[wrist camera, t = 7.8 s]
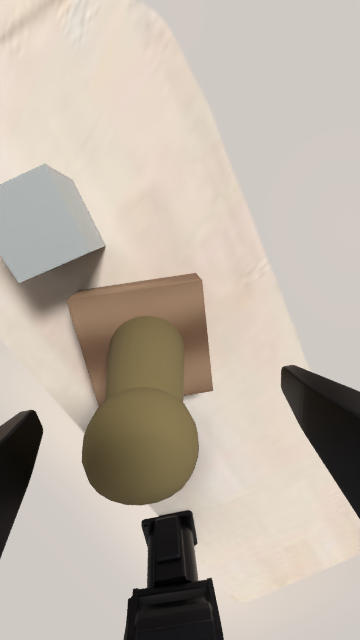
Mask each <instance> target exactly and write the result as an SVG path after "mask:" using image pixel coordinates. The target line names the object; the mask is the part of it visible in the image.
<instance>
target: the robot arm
mask: <svg viewBox="0 0 360 640" xmlns="http://www.w3.org/2000/svg"><path fill="white" fill-rule="evenodd" d="M281 388H282V391H283V393H284V395H285V397H286V399H287V401H288V403H289V405H290V407H291V409H292V411H293V413H294V415H295V417H296V419H297V421H298V423H299V425H300V427H301V429H302V430H303V432H304V433H305V435H306V437H307V438H308V440H309V441H310V443H311V444H312V446H313V447H314V449H315V451H316V452H317V454H318V455H319V457H320V458H321V460H322V461H323V463H324V464H325V466H326V467H327V469H328V471H329V472H330V474H331V475H332V477H333V478H334V480H335V481H336V483H337V484H338V486H339V488H340V489H341V491H342V492H343V494H344V495H345V497H346V498H347V500H348V501H349V503H350V505H351V506H352V508H353V509H354V511H355V512H356V514H357V515H358V517H359V518H360V392H359V391H357V390H354V389H352V388H350V387H347V386H345V385H342V384H340V383H337V382H334V381H332V380H330V379H327V378H325V377H322V376H320V375H317V374H315V373H312V372H310V371H307V370H305V369H303V368H300V367H298V366H295V365H289V366H284V367H282V370H281ZM42 435H43V428H42V425H41V422H40V420H39V418H38V416H37V414H36V412H35V411H34V410H28V411H22V412H20V413H18V414H17V415H15V416H14V417H13V418H11V419H10V420H9V421H7V422H6V423H4V424H3V425H1V426H0V558H1V555H2V552H3V550H4V547H5V545H6V542H7V539H8V536H9V534H10V531H11V529H12V526H13V523H14V521H15V518H16V516H17V513H18V510H19V508H20V505H21V502H22V500H23V497H24V494H25V492H26V489H27V487H28V484H29V481H30V478H31V474H32V471H33V468H34V464H35V460H36V457H37V453H38V450H39V446H40V442H41V439H42ZM142 529H143V533H144V536H145V540H146V543H147V546H148V575H147V576H148V578H147V588H145V589H138V588H136V589H133V596H132V597H131V598H129V599H128V609H127V621H126V628H125V635H124V640H224V638H223V632H222V626H221V622H220V616H219V611H218V606H217V602H216V596H215V592H214V587H213V582H212V578H207V580H201V581H198V574H197V566H196V558H195V550H194V546H195V545H197V537H196V531H195V526H194V520H193V514H192V512H191V511H186V512H181V513H175V514H170V515H165V516H160V517H155V518H150V519H144V520H143V521H142Z"/></svg>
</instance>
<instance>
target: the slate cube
mask: <svg viewBox="0 0 360 640" xmlns="http://www.w3.org/2000/svg"><path fill="white" fill-rule="evenodd" d="M104 246H106V245H105V243H104V241H103V239H102V237H101V235H100V233H99V231H98V229H97V227H96V225H95V223H94V221H93V219H92V217H91V215H90V213H89V211H88V209H87V207H86V205H85V203H84V201H83V199H82V197H81V195H80V193H79V191H78V189H77V187H76V185H75V183H74V181H73V180H72V179H71V178H69V177H67V176H65V175H64V174H62V173H60V172H58V171H57V170H55V169H53V168H51V167H50V166H48V165H46V164H43V165H41V166H39V167H37V168H35V169H32V170H30V171H28V172H26V173H24V174H22V175H19V176H17V177H15V178H13V179H11V180H9V181H7V182H4V183H2V184H0V256H1V258H2V259H3V261H4V262H5V264H6V265H7V267H8V268H9V270H10V271H11V273H12V274H13V276H14V277H15V279H16V280H17V282H18V283H21V282H23V281H26V280H28V279H30V278H33V277H35V276H38V275H40V274H42V273H45V272H47V271H50V270H52V269H54V268H56V267H59V266H61V265H63V264H66V263H68V262H70V261H72V260H75V259H77V258H79V257H81V256H84V255H86V254H88V253H91V252H93V251H95V250H97V249H100V248H102V247H104Z"/></svg>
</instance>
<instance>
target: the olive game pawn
mask: <svg viewBox="0 0 360 640" xmlns="http://www.w3.org/2000/svg"><path fill="white" fill-rule="evenodd" d="M184 353H185V350H184V342H183V339H182V337H181V335H180V333H179V331H178V330H177V329H176V328H175V327H174V326H173V325H172V324H171V323H170V322H168V321H166V320H164V319H162V318H159V317H153V316H141V317H135V318H133V319H130V320H128V321H126V322H124V323H123V324H122V325H121V326H120V327H119V328H118V329H117V330H116V331H115V332H114V334H113V336H112V338H111V340H110V347H109V358H108V370H107V383H106V395H105V402H104V403H103V404H102V405H101V406H100V407H99V408H98V410H97V411H96V412H95V414H94V416H93V417H92V419H91V421H90V423H89V425H88V426H87V429H86V432H85V435H84V440H83V449H82V463H83V466H84V469H85V472H86V475H87V478H88V480H89V482H90V484H91V485H92V486H93V488H94V489H95V490H96V491H97V492H98V493H99V494H101V495H102V496H104V497H106V498H107V499H109V500H111V501H114V502H118V503H122V504H125V505H145V504H151V503H157V502H159V501H161V500H164V499H166V498H169V497H171V496H172V495H174V494H175V493H176V492H178V491H179V490H180V489H182V488H183V486H184V485H185V484H186V482H187V481H188V480H189V478H190V477H191V475H192V473H193V470H194V468H195V465H196V461H197V458H198V450H199V443H198V434H197V429H196V424H195V422H194V420H193V418H192V417H191V415H190V413H189V411H188V409H187V408H186V406H185V404H184V403H183V384H184Z"/></svg>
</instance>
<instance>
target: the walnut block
mask: <svg viewBox="0 0 360 640" xmlns="http://www.w3.org/2000/svg"><path fill="white" fill-rule="evenodd" d="M67 304H68V307H69V310H70V313H71V317H72V320H73V323H74V326H75V330H76V333H77V336H78V340H79V343H80V346H81V349H82V353H83V356H84V359H85V362H86V366H87V369H88V372H89V375H90V379H91V382H92V385H93V388H94V392H95V395H96V398H97V401H98V405H99V407H100V406H101V405H102V404H103V403H104V402H105V395H106V383H107V370H108V358H109V347H110V340H111V338H112V336H113V334H114V332H115V331H116V330H117V329H118V328H119V327H120V326H121V325H122V324H123V323H124V322H126V321H128V320H130V319H133V318H135V317H141V316H153V317H159V318H162V319H164V320H166V321H168V322H170V323H171V324H172V325H173V326H174V327H175V328H176V329H177V330H178V331H179V333H180V335H181V337H182V339H183V342H184V350H185V353H184V384H183V396H185V395H191V394H197V393H203V392H209V391H213V386H212V376H211V365H210V355H209V345H208V335H207V325H206V315H205V305H204V295H203V285H202V279H201V278H200V277H199V276H198V275H197V274H196V273H193V274H186V275H180V276H173V277H166V278H160V279H153V280H146V281H139V282H133V283H126V284H119V285H113V286H106V287H99V288H92V289H86V290H79V291H77V292H76V293H75V294H74V295H72V296H71V297H70V298H69V299H68V300H67Z"/></svg>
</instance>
